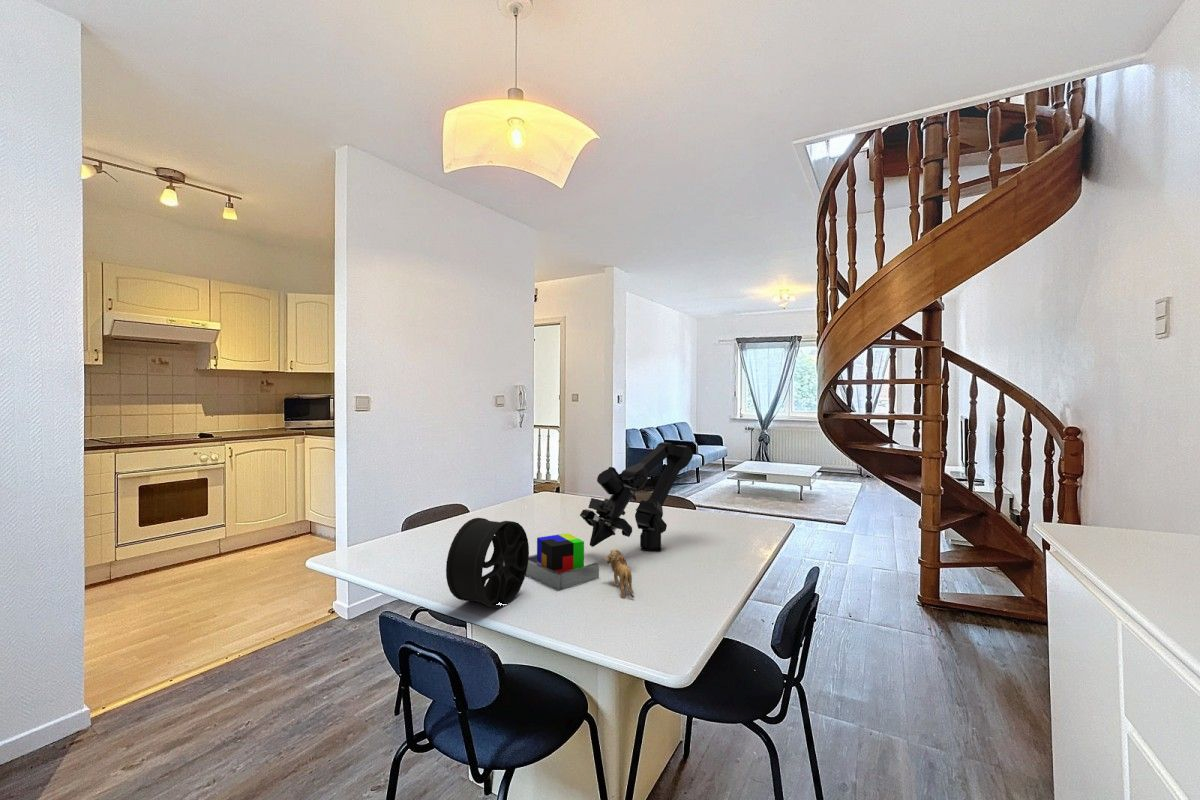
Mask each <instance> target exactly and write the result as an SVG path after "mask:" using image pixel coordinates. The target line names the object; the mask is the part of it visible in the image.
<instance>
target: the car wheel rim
mask: <svg viewBox="0 0 1200 800" xmlns="http://www.w3.org/2000/svg"><path fill="white" fill-rule="evenodd" d="M491 543H492V547H493V552H492V554H491V557H490V559H489V560H488V561H486V557H487V553H488V550H489V547H490V546H491ZM529 556H530V544H529V539H528V536H527V532H526V530H525V529H524V527H523V526H522V525H521V524H520V523H519V522H517V521H511V520H502V521H496V520H489V519H487V518H484V517H483V518H482V517H474V518H471V519H469V520H467V521H466V522H465V523H464V524H463V525H462V526H461V527H460V528H459V530H458V531H457V533H456V534H455V536H454V538H453V540H452V542H451V544H450V547H449V549H448V553H447V559H446V566H445V577H446V583H447V586H448V589H449V591H450V593H451V594H452V595H453V597H454V598H456V599H458V600H460V601H463V602H468V601H469V602H470V601H474V602H479V603H483V605H485V606H487V607H491V608H497V609H500V608H504V607H503V605H501V606H500V605H496V604H498V603H499V602H500V603H502V604H507V605H509V604H510V603H511V602H512V601H513V600H514V599H515V598H516V597H517V595H518V594H519V592H520V590H521V588H522V586H523V583H524V581H525V577H526V571H527V567H528V560H529ZM491 567H492V570H491V571H489V572H487V573H486V574H484V575H483V569H488V568H491ZM509 602H510V603H509ZM508 603H509V604H508Z"/></svg>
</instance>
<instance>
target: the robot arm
mask: <svg viewBox="0 0 1200 800" xmlns="http://www.w3.org/2000/svg"><path fill="white" fill-rule="evenodd" d="M693 455H694V453H693V450H692V448H691V447H690V446H688V445H679V444H678V445H677V444H673V443H672V442H664V441H662V442H659V443H658V444H657V446H656V447H655V448H653V450H651V451H650V452H649V453H648V454H647V455H646V456H644V458H643V459H641V460H640V461H639V462H638V463H637V464H634V465H630V466H627V468H625V469H624V470H622V471H621V473H619V472H618V471H617V469H616V468H615V467H614V466H609V467H608V468H607V469H605V470H603V471H602V472H601V473H599V474H598V475H597V478H596V481H597V483H598V484H599V485H600V486H601V488H602V489H603V490H604V491H605V492H606V493H607V494H608V495H611V496H610V497H609V498H605V499H603V500H602V499H599V498H595V497H591V498H590V501H589V503H588V504H589V505H588V509H587V508H586V509H582V510H581V512H580V514H579V516H580V517H581V518H582V519H583V521H585V523H586V524H587V525H588V526H591V527H592V532H591V536H590V540H589V547H591V548H594V547H595V546H597V545H599V544H600V543H602V542H603V541H605V540H607V539H609V538H610V537H612V536H616V533H615V532H616V531H617V530H621V534H622V536H625V537H628V538H630V536H631V535H632V533H633V527H632V525H630V523H629V522H628V521H627V520H626V519H625V518H622V517H621V516H625V514H626V512H625V509H626V507H627V506H628V504H629V502H630V501H635V502H636V501H637V496H636V491H632V490H631V489H635V490H640V489H641V488H643V486H645V484H646V483H647V481H648V478H649V475H650V474H651V473H652V471H653V470H655V469H656V468H657V467H658V466H659V465H660V464H662V462H663V461H664V460H666V465H665V468H663V469H664V470H663V472H662V473H661V474H660V478H659V479H658V480H657V483H656V485H655V487H654V489H652V490H653V491H652V493H651V495H650V497H649V498H648V499H647V500H642V499H641V501H640V502H639V504H638V506H637V508H636V509H635V514H634V517H635V522H636V526H637V529H638V530H641V533H640V535H639V537H640V539H639V542H640V543H639V546H640V550H641V551H650V552H651V551H653V552H661V551H662V547H663V546H662V534H663V533H664V532H666V530H667V523H666V522H665V521H664V520H663V516H664V511H663V505H664V503H665V502H666V500H667V497H668V495H669V494H670V491H671V489H672V488H673V486H674V483H675V481H676V479H677V477H678V475H679V473H680V471H682V470H683V469H685V468H687V466H688V465H689V464H690V462H691V461H692V459H693ZM630 488H631V489H630Z"/></svg>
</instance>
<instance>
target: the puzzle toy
mask: <svg viewBox="0 0 1200 800" xmlns="http://www.w3.org/2000/svg"><path fill="white" fill-rule="evenodd" d="M536 539H537V540H536V554H537V564H539V565H541V566H544V567H546V568H548V569H551V570H553V571H555V572H558V573H561V572H565V571H568V570H572V569H575V568H579V567H582V566H585V541H584V540H582V539H580V538H578V537H576V536H574V535H572V534H570V533H569V532H568V533H561V534H553V535H547V536H546V535H545V536H540V537H537V538H536Z"/></svg>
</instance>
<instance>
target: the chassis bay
mask: <svg viewBox="0 0 1200 800" xmlns="http://www.w3.org/2000/svg"><path fill="white" fill-rule="evenodd" d="M525 577H528V578H531V579H533V580H535V581H536V582H540V583H541V584H544V586H545V585H546V586H547V587H550V588H551V587H552V589H553V590H556V591H558V590H559V591H561V590H565V589H567V588H571V587H575V586H578V585H581V584H584V583H587V582H590V581H594V580H597V579H599V578H600V564H599V563H598V562H593V563H590V564H586V565H584V566H582V567H579V568H575V569H572V570H568V571H565V572H561V573H558V572H555V571H553V570H551V569H548V568H546V567H544V566H541V565H539V564H537V553H536V554H532V555H529V560H528V567H527V571H526V575H525Z"/></svg>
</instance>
